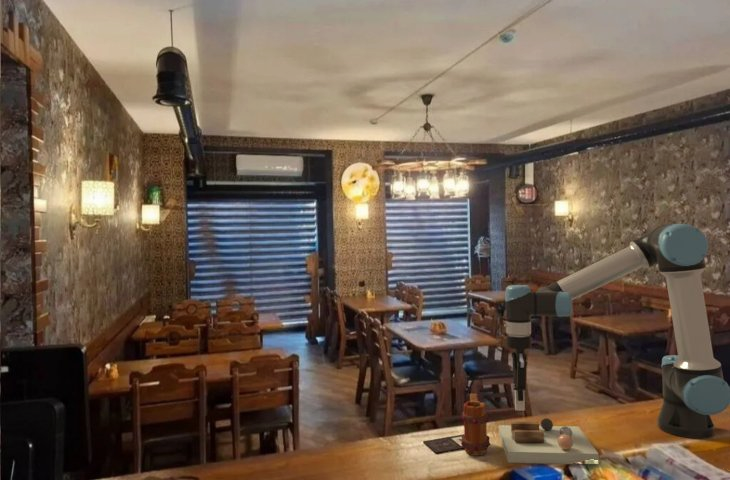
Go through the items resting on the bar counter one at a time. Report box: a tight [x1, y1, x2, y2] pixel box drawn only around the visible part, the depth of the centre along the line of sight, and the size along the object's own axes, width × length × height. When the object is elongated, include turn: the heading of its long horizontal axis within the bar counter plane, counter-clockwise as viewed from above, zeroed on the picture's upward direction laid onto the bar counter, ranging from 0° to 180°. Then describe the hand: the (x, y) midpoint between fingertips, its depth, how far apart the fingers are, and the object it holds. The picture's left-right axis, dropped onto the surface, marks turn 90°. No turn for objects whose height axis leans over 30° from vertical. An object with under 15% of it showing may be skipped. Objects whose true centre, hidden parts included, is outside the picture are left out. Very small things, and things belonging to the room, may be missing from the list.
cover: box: [510, 421, 544, 443], centre depth 150 cm, size 8×8×3 cm
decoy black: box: [540, 417, 554, 431], centre depth 156 cm, size 4×4×4 cm
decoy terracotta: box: [558, 434, 573, 450], centre depth 142 cm, size 4×4×4 cm
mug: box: [461, 393, 491, 456], centre depth 151 cm, size 15×8×15 cm, turn 168°
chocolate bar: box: [422, 433, 465, 455], centre depth 155 cm, size 9×1×18 cm
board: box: [498, 424, 600, 465], centre depth 150 cm, size 24×20×3 cm
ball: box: [560, 425, 572, 437], centre depth 149 cm, size 4×4×4 cm
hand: (520, 409), depth 160 cm, fingers closed
